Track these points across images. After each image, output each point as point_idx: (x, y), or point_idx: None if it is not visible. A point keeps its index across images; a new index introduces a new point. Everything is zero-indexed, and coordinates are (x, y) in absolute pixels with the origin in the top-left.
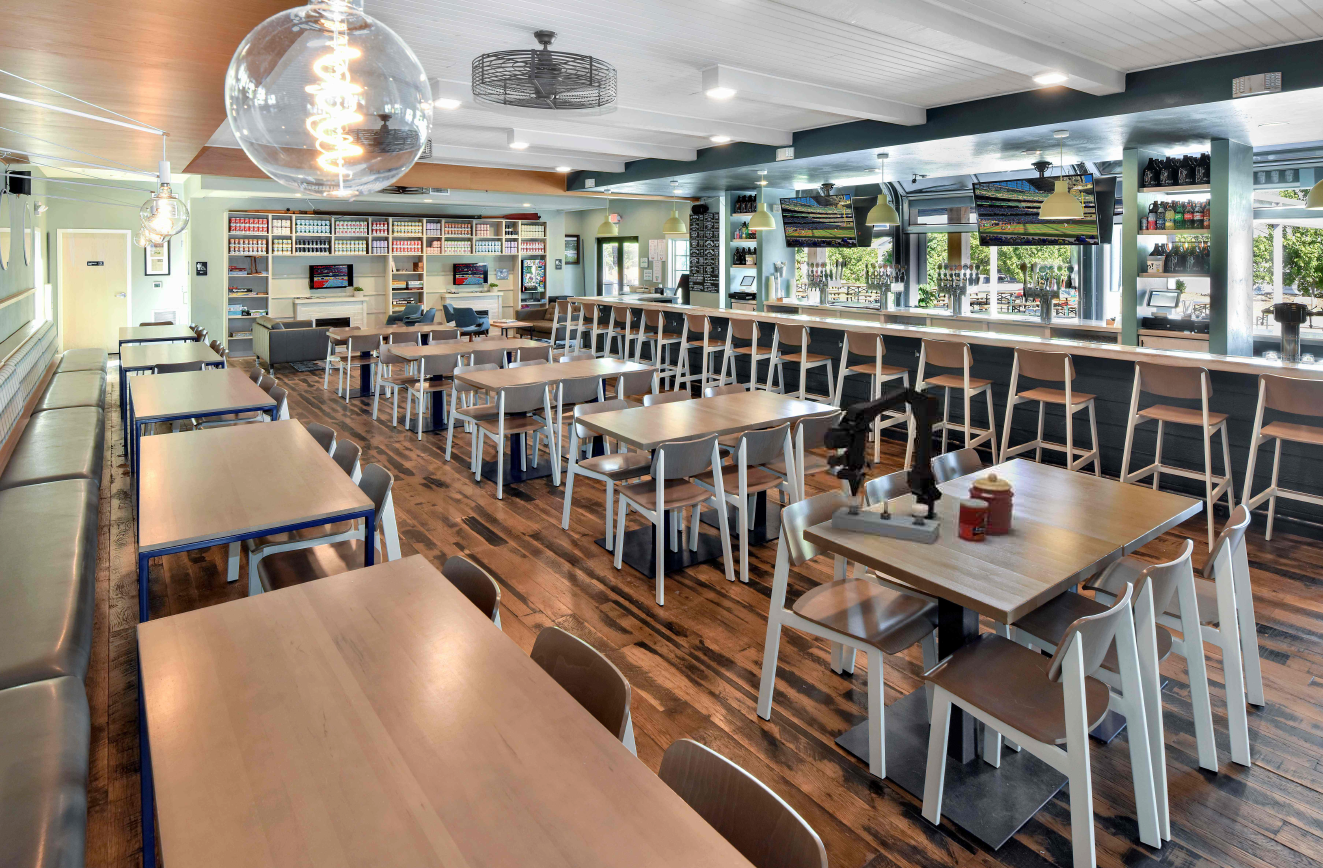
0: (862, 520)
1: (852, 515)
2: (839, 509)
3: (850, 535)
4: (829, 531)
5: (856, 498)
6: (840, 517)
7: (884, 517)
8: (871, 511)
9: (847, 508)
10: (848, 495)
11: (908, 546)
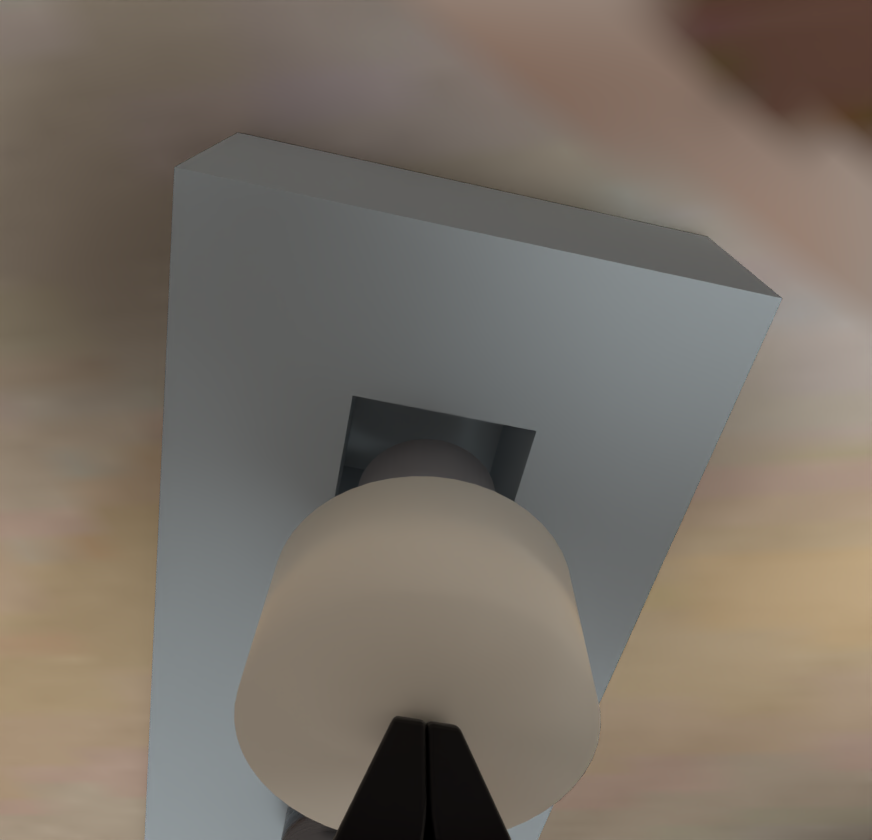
0: (156, 612)
1: (307, 489)
2: (596, 260)
3: (30, 404)
4: (36, 119)
5: (262, 777)
6: (175, 314)
7: (283, 833)
8: (598, 687)
9: (693, 387)
10: (458, 629)
11: (23, 833)
